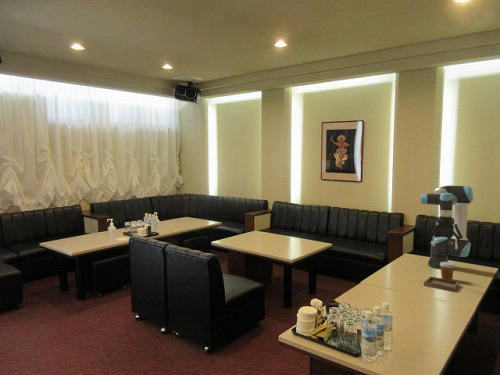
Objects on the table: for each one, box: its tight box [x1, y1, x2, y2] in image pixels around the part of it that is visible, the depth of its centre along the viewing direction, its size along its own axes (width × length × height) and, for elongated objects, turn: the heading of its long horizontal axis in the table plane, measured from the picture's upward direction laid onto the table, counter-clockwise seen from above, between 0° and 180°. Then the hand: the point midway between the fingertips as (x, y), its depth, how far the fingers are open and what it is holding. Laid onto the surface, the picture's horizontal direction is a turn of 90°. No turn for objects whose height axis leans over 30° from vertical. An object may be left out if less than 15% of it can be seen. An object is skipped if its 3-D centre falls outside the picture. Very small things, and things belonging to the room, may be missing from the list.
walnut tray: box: [423, 276, 460, 293], centre depth 240 cm, size 16×18×2 cm
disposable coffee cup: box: [440, 261, 456, 281], centre depth 252 cm, size 10×10×12 cm
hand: (444, 247), depth 239 cm, fingers open, 13 cm apart
